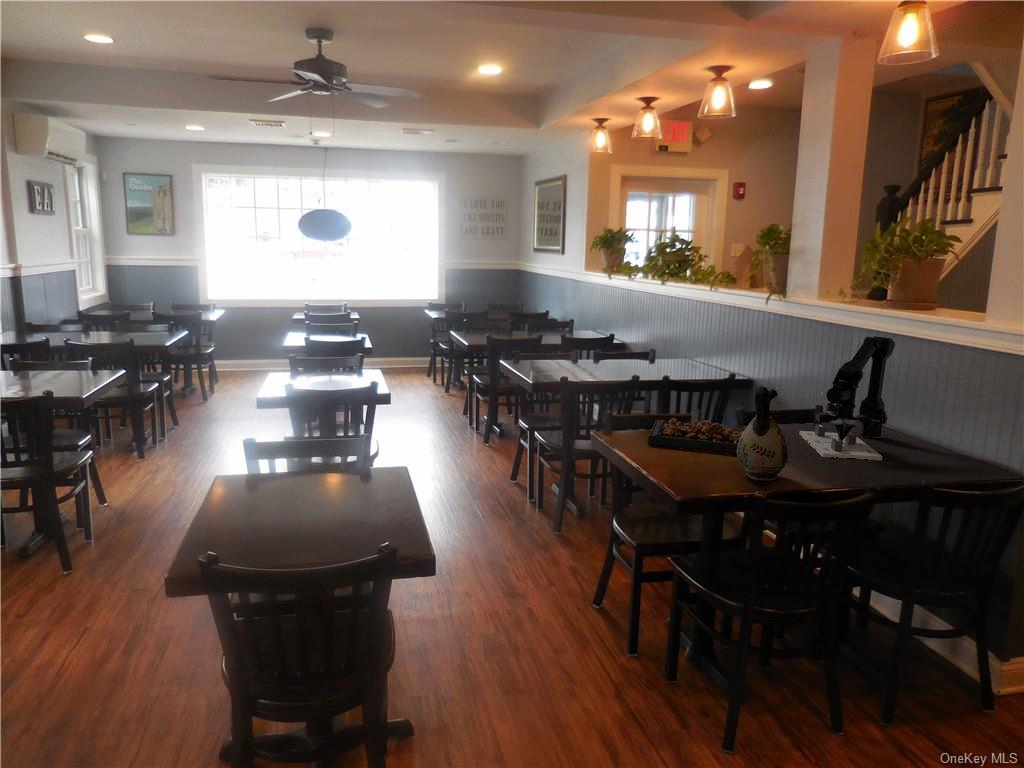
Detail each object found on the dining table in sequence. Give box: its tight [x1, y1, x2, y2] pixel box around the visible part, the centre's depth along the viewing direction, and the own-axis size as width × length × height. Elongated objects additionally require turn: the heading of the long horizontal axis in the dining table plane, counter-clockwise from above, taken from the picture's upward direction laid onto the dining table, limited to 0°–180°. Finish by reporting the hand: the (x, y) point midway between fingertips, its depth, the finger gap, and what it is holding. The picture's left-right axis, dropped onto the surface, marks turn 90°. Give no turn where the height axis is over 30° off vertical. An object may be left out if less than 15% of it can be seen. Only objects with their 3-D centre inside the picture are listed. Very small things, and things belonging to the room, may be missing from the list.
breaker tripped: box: [845, 432, 858, 445], centre depth 266 cm, size 2×4×4 cm, turn 173°
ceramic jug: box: [736, 385, 789, 482], centre depth 226 cm, size 17×15×30 cm
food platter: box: [647, 417, 746, 455], centre depth 266 cm, size 45×25×10 cm, turn 73°
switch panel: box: [799, 430, 883, 462], centre depth 267 cm, size 20×30×2 cm, turn 173°
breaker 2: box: [831, 438, 843, 451], centre depth 257 cm, size 2×4×4 cm, turn 173°
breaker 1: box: [814, 424, 826, 436], centre depth 276 cm, size 2×4×4 cm, turn 173°
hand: (840, 441), depth 266 cm, fingers closed
